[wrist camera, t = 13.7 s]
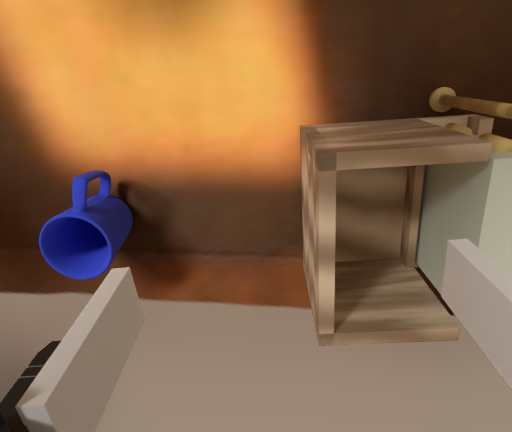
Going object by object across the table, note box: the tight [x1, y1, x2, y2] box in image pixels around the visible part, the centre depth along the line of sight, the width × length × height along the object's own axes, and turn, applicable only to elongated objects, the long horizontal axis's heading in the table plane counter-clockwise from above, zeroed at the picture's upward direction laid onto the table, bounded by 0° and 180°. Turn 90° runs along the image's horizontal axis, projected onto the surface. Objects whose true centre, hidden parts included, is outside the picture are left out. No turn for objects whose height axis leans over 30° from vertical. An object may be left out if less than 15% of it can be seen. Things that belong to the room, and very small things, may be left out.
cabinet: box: [300, 87, 512, 346], centre depth 40 cm, size 23×21×16 cm
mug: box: [39, 170, 133, 279], centre depth 45 cm, size 8×12×10 cm
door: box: [415, 123, 512, 294], centre depth 40 cm, size 18×5×14 cm, turn 4°
